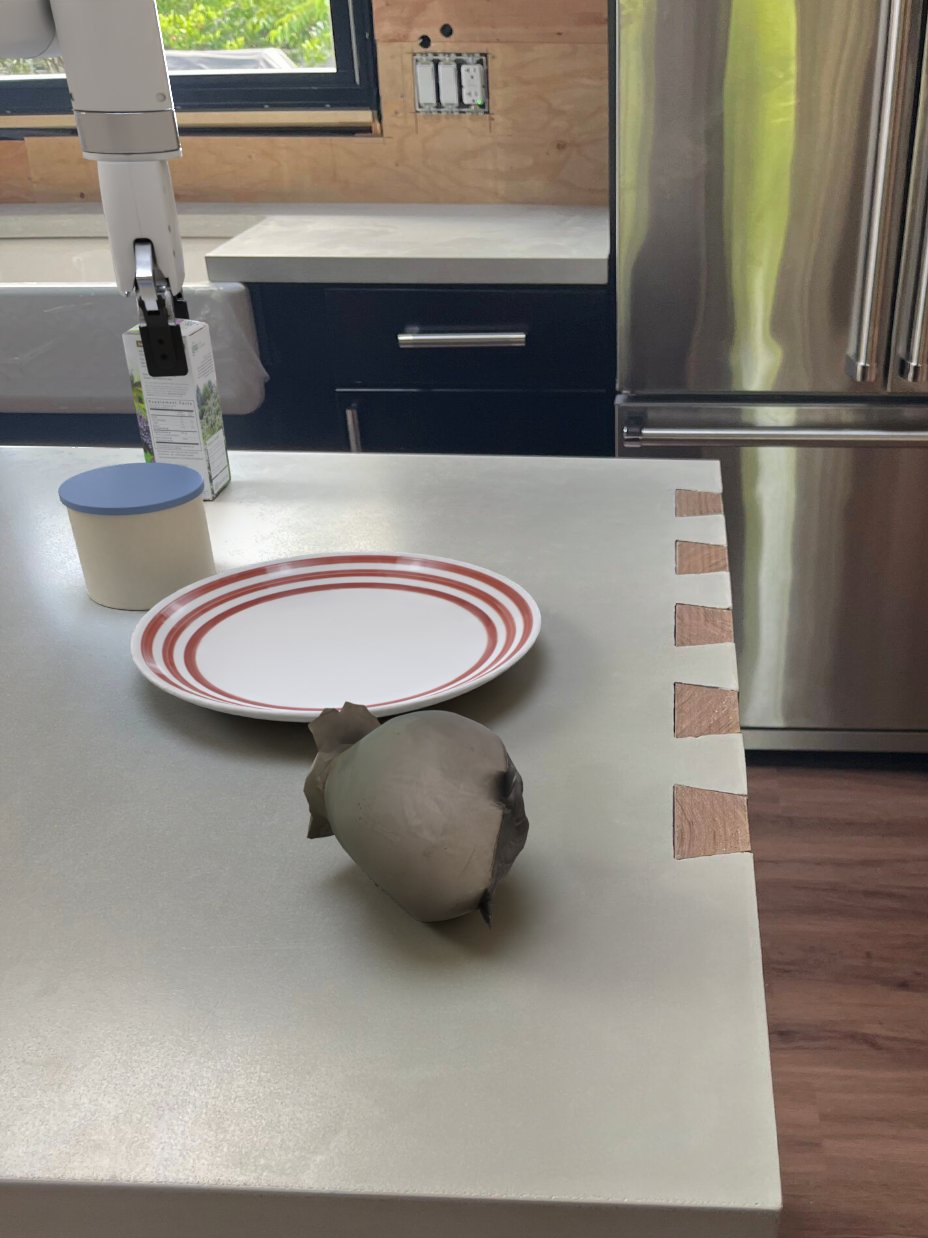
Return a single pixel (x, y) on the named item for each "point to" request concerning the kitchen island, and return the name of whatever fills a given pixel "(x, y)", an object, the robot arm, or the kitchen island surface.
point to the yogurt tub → (139, 531)
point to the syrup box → (181, 408)
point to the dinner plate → (335, 634)
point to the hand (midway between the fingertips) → (172, 361)
